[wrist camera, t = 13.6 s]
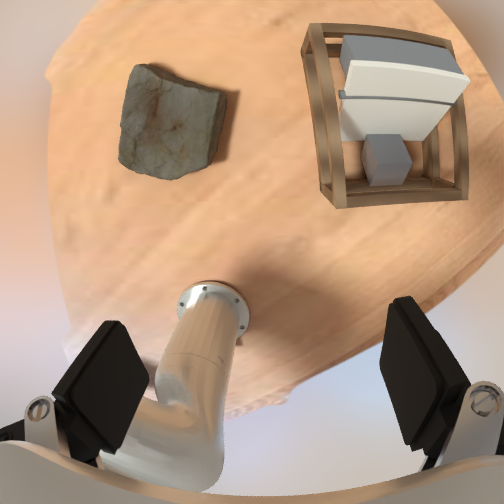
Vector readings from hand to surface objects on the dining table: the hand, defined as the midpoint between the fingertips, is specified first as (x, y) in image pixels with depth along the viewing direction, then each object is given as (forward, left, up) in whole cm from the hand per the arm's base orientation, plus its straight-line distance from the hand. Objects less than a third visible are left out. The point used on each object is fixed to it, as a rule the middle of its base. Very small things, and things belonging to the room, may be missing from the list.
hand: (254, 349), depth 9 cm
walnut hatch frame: (+9, -16, -32) cm, 37 cm away
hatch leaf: (+13, -16, -26) cm, 34 cm away
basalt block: (+5, -16, -31) cm, 35 cm away
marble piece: (+12, +12, -33) cm, 37 cm away
